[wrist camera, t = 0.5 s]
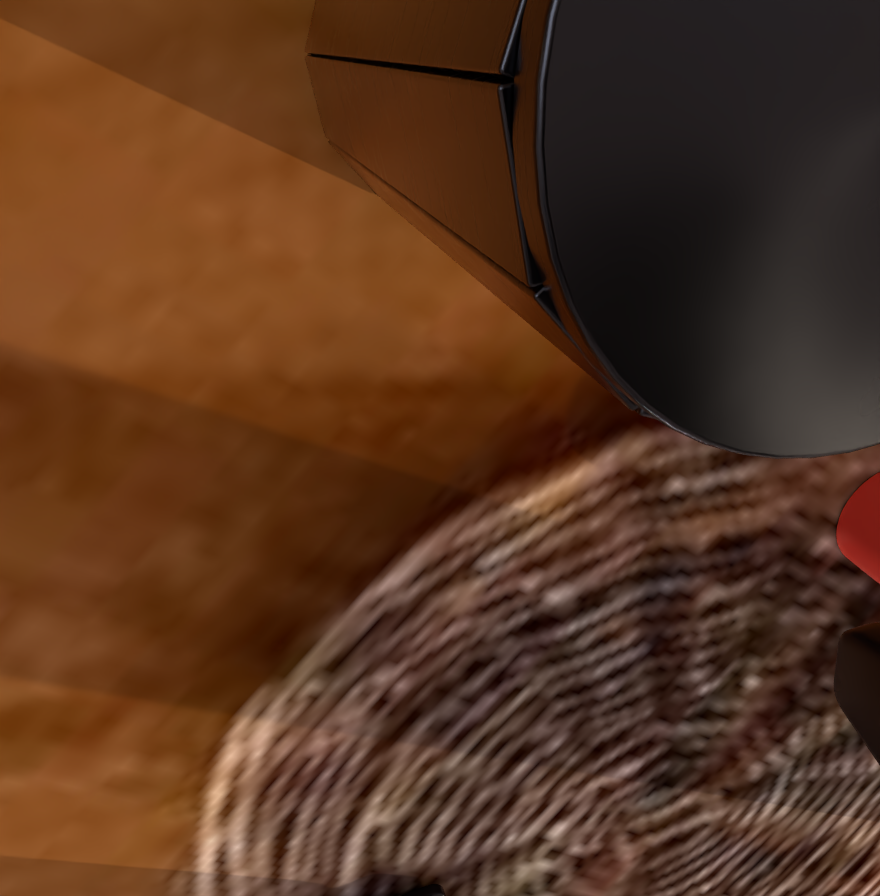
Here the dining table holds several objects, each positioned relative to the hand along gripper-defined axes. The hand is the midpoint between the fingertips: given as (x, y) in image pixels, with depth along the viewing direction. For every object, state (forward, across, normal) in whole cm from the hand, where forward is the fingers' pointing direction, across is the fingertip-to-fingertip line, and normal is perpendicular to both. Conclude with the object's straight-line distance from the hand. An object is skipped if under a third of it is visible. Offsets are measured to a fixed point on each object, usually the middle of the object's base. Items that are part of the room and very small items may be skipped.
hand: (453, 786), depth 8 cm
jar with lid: (+14, -5, -6) cm, 16 cm away
